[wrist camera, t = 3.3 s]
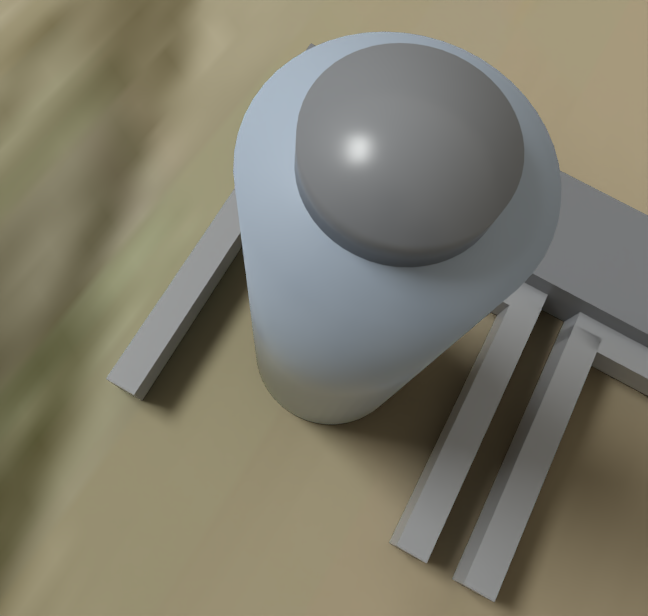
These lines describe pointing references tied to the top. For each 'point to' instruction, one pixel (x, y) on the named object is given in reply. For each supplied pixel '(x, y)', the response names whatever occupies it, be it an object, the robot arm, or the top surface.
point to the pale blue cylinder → (384, 214)
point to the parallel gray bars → (477, 365)
